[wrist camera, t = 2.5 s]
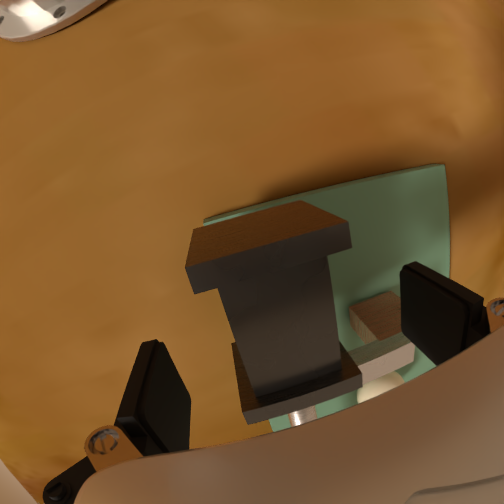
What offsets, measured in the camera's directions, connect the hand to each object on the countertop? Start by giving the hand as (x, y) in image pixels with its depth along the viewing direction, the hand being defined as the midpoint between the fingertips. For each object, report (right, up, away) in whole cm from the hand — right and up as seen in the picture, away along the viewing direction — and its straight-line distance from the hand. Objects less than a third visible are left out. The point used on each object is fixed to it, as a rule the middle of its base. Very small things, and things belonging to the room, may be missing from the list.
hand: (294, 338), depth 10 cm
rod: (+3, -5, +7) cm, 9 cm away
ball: (+8, -7, +7) cm, 12 cm away
